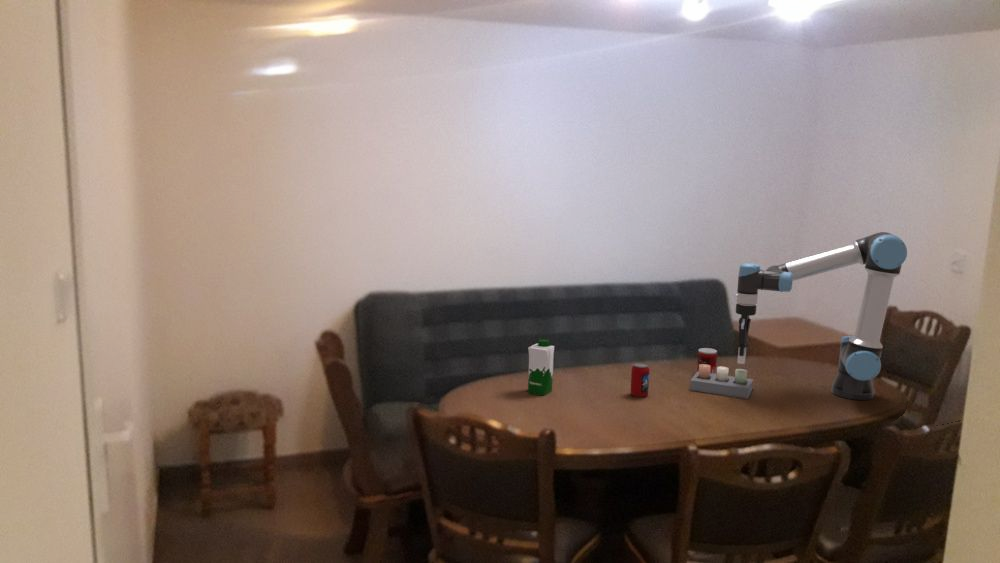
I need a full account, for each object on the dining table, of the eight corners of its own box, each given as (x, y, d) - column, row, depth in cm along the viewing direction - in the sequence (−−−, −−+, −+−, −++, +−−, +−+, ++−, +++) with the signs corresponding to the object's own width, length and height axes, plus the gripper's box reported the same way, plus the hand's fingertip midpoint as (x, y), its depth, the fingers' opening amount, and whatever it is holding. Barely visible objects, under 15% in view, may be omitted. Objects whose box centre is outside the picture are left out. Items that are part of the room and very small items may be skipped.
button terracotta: (710, 377, 309) (711, 365, 309) (708, 379, 305) (709, 367, 305) (699, 375, 311) (700, 363, 310) (697, 378, 307) (698, 366, 306)
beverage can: (648, 398, 293) (649, 367, 291) (630, 397, 294) (631, 366, 292) (648, 393, 299) (650, 363, 297) (630, 391, 301) (632, 361, 299)
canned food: (713, 373, 329) (715, 348, 327) (717, 378, 321) (718, 353, 319) (695, 372, 329) (697, 347, 328) (698, 377, 321) (699, 352, 320)
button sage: (746, 382, 304) (747, 369, 303) (745, 385, 300) (746, 372, 299) (735, 380, 305) (736, 368, 305) (733, 383, 302) (734, 371, 301)
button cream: (728, 379, 307) (729, 367, 306) (726, 382, 303) (727, 370, 302) (717, 378, 308) (718, 365, 308) (715, 380, 304) (716, 368, 304)
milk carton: (555, 390, 300) (556, 340, 296) (545, 397, 292) (547, 345, 288) (534, 387, 304) (536, 337, 300) (524, 393, 296) (525, 342, 292)
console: (752, 388, 308) (753, 379, 307) (747, 398, 295) (748, 388, 295) (696, 381, 317) (697, 371, 316) (689, 390, 304) (690, 380, 304)
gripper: (738, 300, 305) (733, 358, 309) (733, 305, 293) (728, 365, 297) (758, 302, 302) (753, 360, 306) (754, 307, 290) (748, 368, 294)
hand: (741, 363), depth 301 cm, fingers closed
